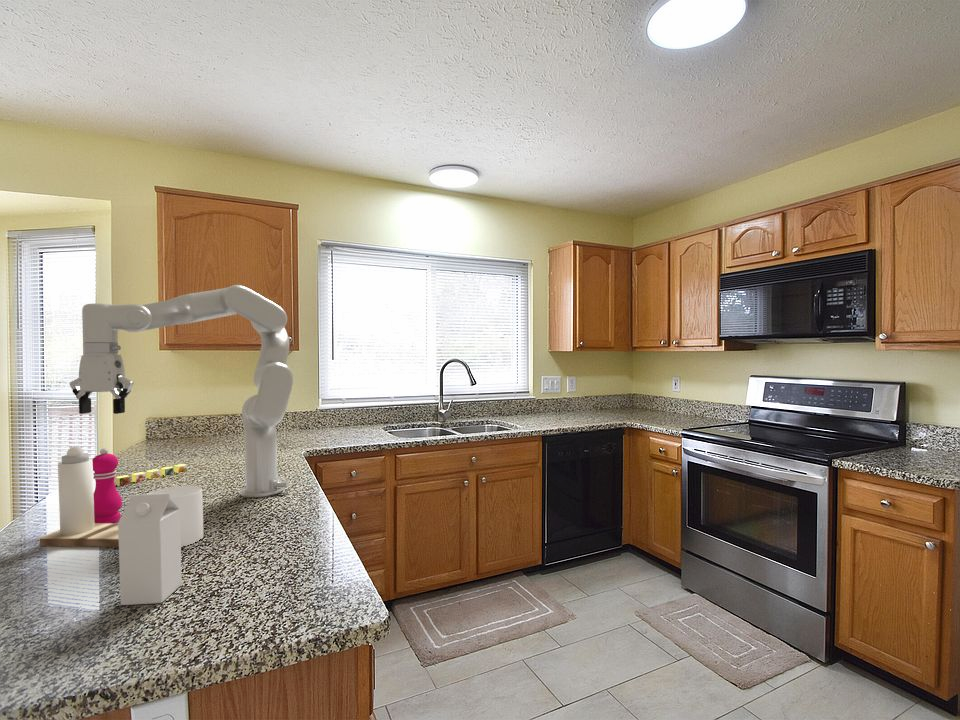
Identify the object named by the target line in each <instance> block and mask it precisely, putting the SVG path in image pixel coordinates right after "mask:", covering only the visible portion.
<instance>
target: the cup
mask: <svg viewBox="0 0 960 720" xmlns="http://www.w3.org/2000/svg"><path fill="white" fill-rule="evenodd" d="M168 493H170V500H171V501H172V502H173V503H174V504H175V505H176V506H177V507H178V508H179V509H180V538H181V547H183V546H186V547H188V546H187V545H189V546H191V545H190V544H192V545H194V544H196V543H195V542H197V541H198V542H200V541H201V540H202V539H203V538H204V503H203V502H204V501H203V500H204V499H203V498H204V497H203V488H202V487H201V486H199V485H193V484H190V485H185V484H184V485H175V486H169V487H164V488H160V489H156V490H153V491H150V492H149V493H147V494H168ZM200 539H201V540H200ZM199 540H200V541H199ZM198 542H197V543H198ZM193 543H194V544H193ZM183 548H184V547H183Z"/></svg>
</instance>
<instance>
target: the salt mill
mask: <svg viewBox="0 0 960 720" xmlns="http://www.w3.org/2000/svg"><path fill="white" fill-rule="evenodd" d="M92 459H93V458H90V454H89V453H88V452H84V449H83V448H82V446H78V445H75V446H71V447H69V448H68V450H67V451H66V454H64V455H62V456H61V462H58V463H57V473H58V475H57V476H58V477H57V479H58V504H59V505H58V506H59V508H58V510H59V530H60V534H61V535H75V534H80V533H84V532H88V531H90V530H92V529H94V528H95V523H94V478H93V477H94V475H93V474H94V471H93V460H92Z"/></svg>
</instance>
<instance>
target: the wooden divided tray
mask: <svg viewBox="0 0 960 720" xmlns="http://www.w3.org/2000/svg"><path fill="white" fill-rule="evenodd" d="M84 546H85V547H84ZM86 546H101V547H100V548H119V533H118V522H114V523H95V528H94V529H92V530H90V531H88V532H84V533H80V534H75V535H61V534H60V529H57V530H56V531H53V532H50V533H48V534H45V535H43V536H40V537H39V547H66V548H67V547H69V548H70V547H71V548H72V547H77V548H78V547H79V548H81V547H83V548H87V547H86Z"/></svg>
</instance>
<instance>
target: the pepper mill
mask: <svg viewBox="0 0 960 720" xmlns="http://www.w3.org/2000/svg"><path fill="white" fill-rule="evenodd" d="M99 452H100V454H97V455H95V456H94V457H93V458H91V459H92V460H93V480H94V481H95V487H94V490H93V492H94V523H113V522H114V523H117V522H119V520H120V518H121V512H119V510H121V508H122V506H123V499H122V497H121V495H120V493H119V492H118V490H117V488H116V487H117V486H116V485H115V477H117V470H116V468H118V465H119V459H118V457H117V456H116V455H115V454H112V453H109V449H108V448H105V447H102V448H101V449H100V451H99ZM116 521H117V522H116Z"/></svg>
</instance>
